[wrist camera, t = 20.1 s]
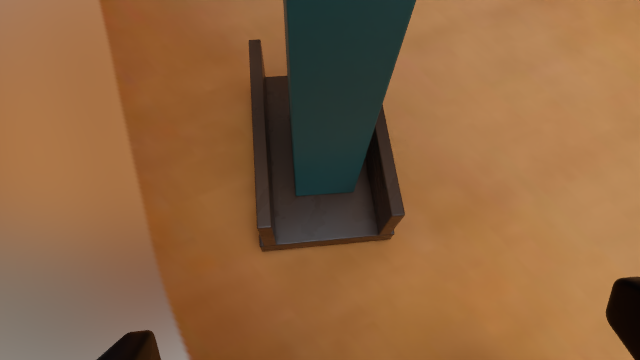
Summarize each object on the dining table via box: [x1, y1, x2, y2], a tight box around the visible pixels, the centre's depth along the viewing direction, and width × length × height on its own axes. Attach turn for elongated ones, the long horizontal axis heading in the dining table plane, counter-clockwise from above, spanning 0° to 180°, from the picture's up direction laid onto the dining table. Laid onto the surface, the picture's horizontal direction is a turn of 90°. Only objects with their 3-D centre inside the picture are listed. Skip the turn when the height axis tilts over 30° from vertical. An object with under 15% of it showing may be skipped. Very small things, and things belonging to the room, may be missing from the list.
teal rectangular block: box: [283, 0, 416, 196], centre depth 15 cm, size 5×3×13 cm, turn 5°
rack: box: [249, 40, 405, 251], centre depth 20 cm, size 10×7×4 cm, turn 6°
